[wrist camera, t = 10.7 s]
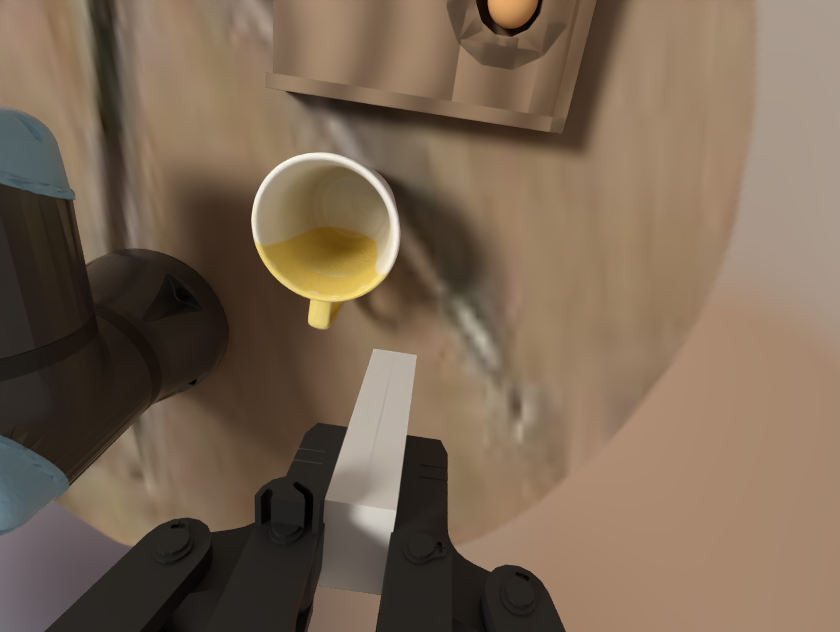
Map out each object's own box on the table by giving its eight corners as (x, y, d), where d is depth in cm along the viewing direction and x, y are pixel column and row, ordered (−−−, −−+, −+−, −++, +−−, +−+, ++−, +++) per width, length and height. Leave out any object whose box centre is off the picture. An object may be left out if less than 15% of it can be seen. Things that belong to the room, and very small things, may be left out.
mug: (318, 123, 37) (273, 124, 27) (430, 175, 38) (424, 194, 28) (274, 266, 42) (223, 308, 32) (372, 307, 43) (351, 361, 34)
